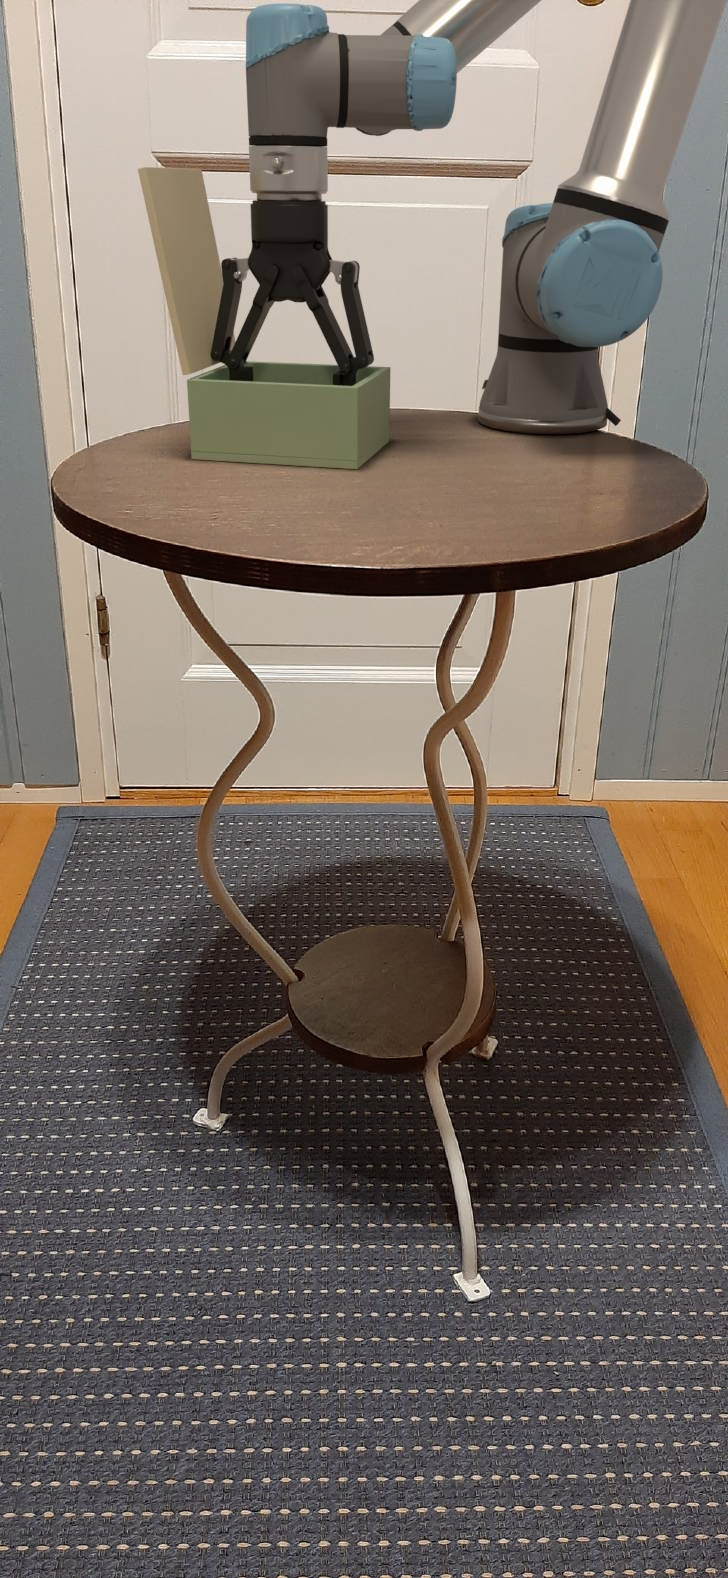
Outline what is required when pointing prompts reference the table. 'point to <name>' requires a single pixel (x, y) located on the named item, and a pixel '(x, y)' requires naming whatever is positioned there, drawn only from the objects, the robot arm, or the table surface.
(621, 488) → the table surface
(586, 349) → the robot arm
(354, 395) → the chest
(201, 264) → the lid
